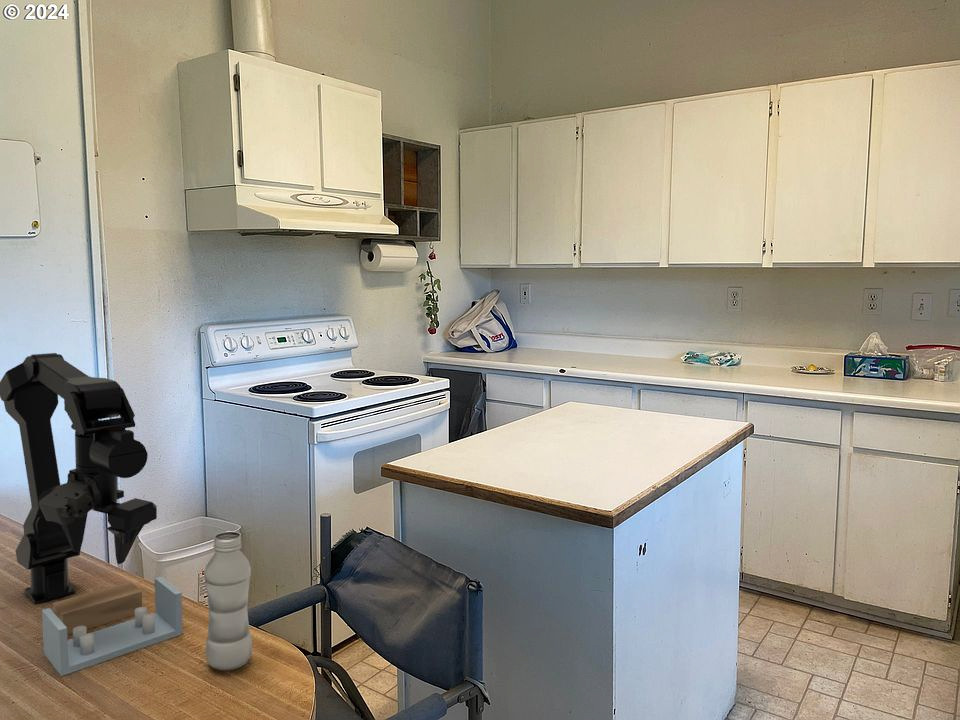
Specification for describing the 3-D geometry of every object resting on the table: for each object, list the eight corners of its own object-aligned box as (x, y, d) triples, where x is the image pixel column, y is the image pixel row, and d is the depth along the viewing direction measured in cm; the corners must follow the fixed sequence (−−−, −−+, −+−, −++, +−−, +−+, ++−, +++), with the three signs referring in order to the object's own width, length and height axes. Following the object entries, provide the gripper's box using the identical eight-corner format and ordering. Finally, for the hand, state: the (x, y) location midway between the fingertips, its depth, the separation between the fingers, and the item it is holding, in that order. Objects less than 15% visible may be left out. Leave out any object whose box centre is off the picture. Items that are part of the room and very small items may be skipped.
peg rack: (43, 653, 108) (41, 609, 107) (161, 615, 121) (160, 576, 120) (61, 676, 103) (59, 630, 102) (182, 634, 115) (181, 592, 114)
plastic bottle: (238, 679, 103) (237, 546, 101) (195, 672, 105) (193, 541, 102) (260, 656, 110) (260, 530, 107) (220, 649, 111) (219, 525, 108)
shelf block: (54, 626, 117) (52, 602, 116) (131, 603, 125) (130, 581, 125) (63, 638, 113) (62, 614, 113) (142, 613, 122) (141, 591, 121)
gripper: (3, 465, 107) (7, 564, 110) (98, 487, 101) (100, 591, 103) (69, 447, 117) (71, 538, 120) (159, 466, 111) (159, 561, 114)
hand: (98, 557), depth 114 cm, fingers open, 9 cm apart
